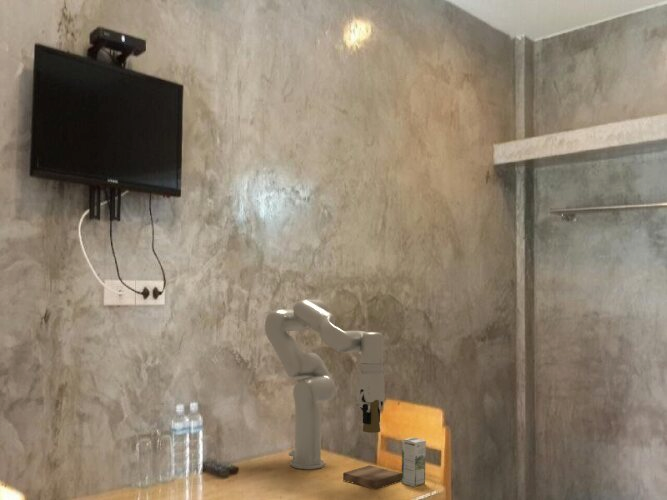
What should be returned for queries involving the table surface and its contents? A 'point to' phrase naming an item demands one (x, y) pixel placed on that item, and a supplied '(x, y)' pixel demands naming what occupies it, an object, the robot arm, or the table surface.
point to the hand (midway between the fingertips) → (371, 422)
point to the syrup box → (413, 461)
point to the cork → (373, 419)
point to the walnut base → (372, 476)
